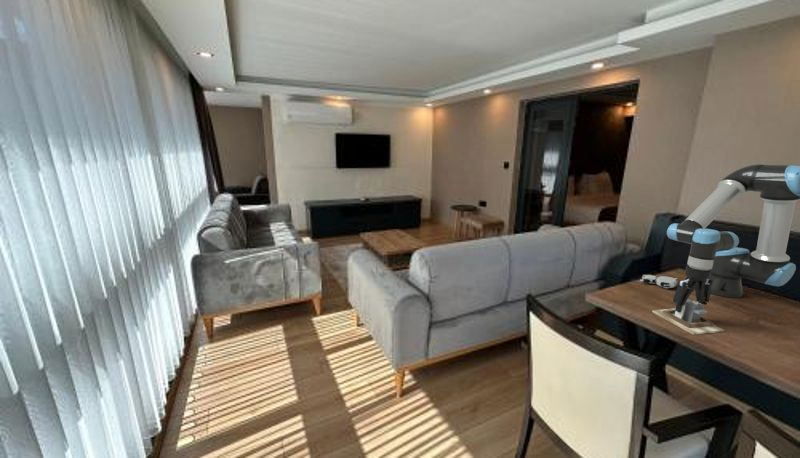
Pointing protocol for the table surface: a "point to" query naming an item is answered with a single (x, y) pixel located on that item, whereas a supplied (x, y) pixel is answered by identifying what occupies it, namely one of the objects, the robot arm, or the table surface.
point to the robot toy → (660, 281)
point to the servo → (692, 311)
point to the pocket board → (693, 328)
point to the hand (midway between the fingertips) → (686, 317)
